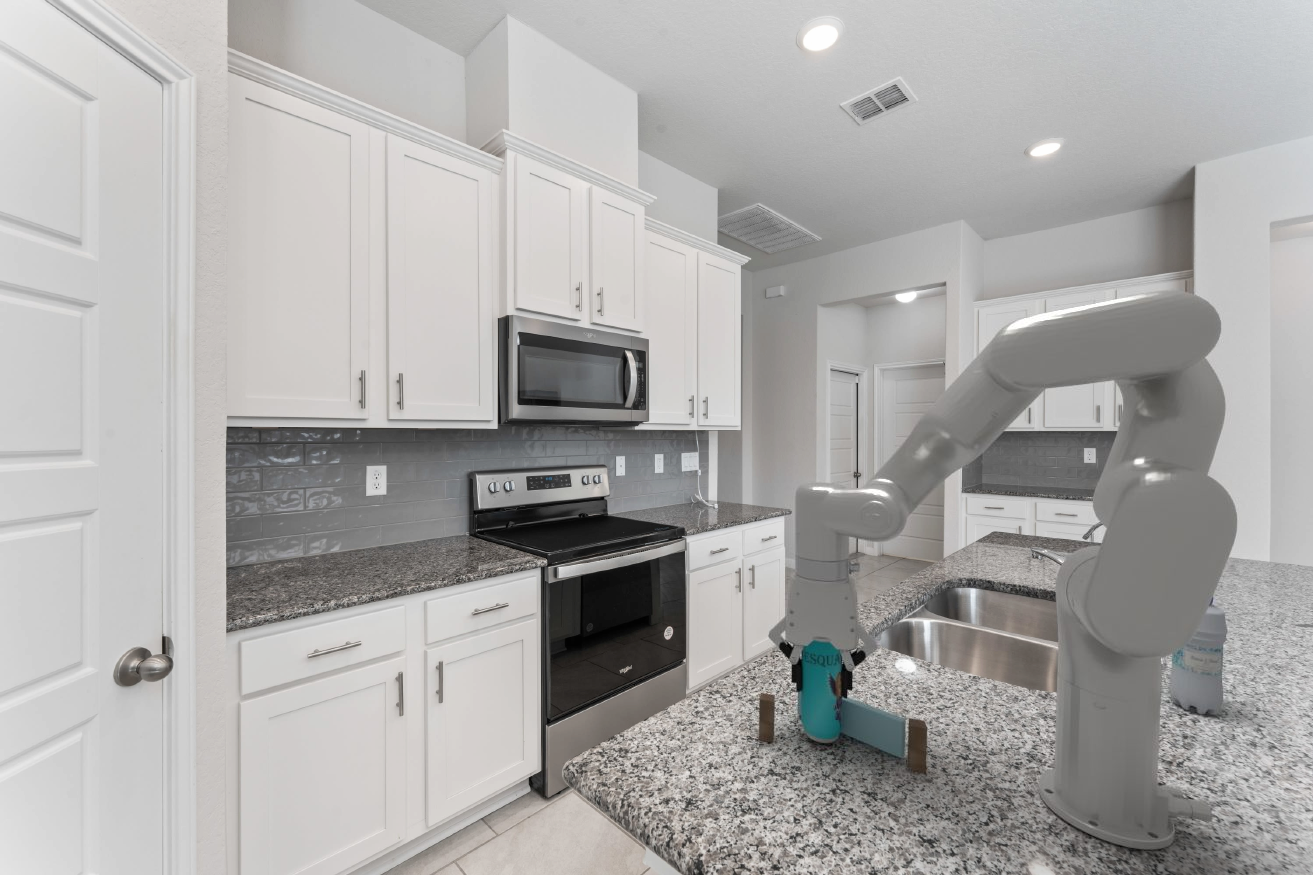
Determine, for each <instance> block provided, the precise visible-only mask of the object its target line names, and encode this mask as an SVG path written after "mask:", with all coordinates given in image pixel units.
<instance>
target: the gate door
mask: <svg viewBox="0 0 1313 875" xmlns="http://www.w3.org/2000/svg"><path fill="white" fill-rule="evenodd" d="M796 708H797V709H796V710H797V712H796V713H797V715H799V716H801V691H800V692H797V707H796ZM906 722H907V721H906V718H904V717H902V716H899V715H896V714H893V713H891V712H889V711H886V710H883V709H880V708H879V707H878V708H877V707H875V706H872V705H869V704H867V703H863V702H862V701H859V700H856V699H854V698H851V697H848V696H847V698H844V697H842V729H841V732H840V734H844V735H846V736H848V737H851V738H852V739H855V740H858V741H859V742H862V743H865V744H866V745H869V746H872V747H874V748H876V749H879V750H881V751H883V752H885V753H888V754H890V755H893V756H895V757H897V758H900V759H903V758H904V756H906V729H907V728H906V727H907V726H906Z"/></svg>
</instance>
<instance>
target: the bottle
mask: <svg viewBox="0 0 1313 875" xmlns="http://www.w3.org/2000/svg"><path fill="white" fill-rule="evenodd" d="M1213 604H1214V596H1213V597H1212V600H1211V602H1210V605H1209V607H1208V609H1207V612H1206V614H1205V616H1204V619H1203V621H1202V623H1201V625H1200V627H1199V629H1198V631H1197V632H1196V634H1195V635H1194V637H1193V638H1192V639H1191V640H1190V642H1189V643H1188V644H1187V645H1186V646H1184V647H1183V648H1182V649H1180V650H1179V651H1177V652H1175V653H1173V654H1171V669H1170V670H1171V671H1170V676H1169V684H1168V685H1169V688H1168V690H1169V695H1170V698H1171V699H1170V700H1171V701H1172V702H1173V703H1174V704H1175V705H1177V706H1181V708H1182V709H1184V710H1185V711H1189V710H1190V709H1191V706H1193V707H1195V708H1196V711H1197V714H1199V715H1205V714H1206V713H1208V714H1209V715H1210V716H1213V715H1214V716H1215V715H1217V714H1219V712H1220V711H1221V709H1222V706H1223V702H1224V688H1223V687H1224V686H1223V685H1224V684H1223V669H1224V668H1223V667H1224V666H1223V663H1224V645H1225V642H1227V640H1228V638H1227V635H1228V632H1229V631H1228V627H1227V621H1226V613H1225V611H1224V610H1223V609H1221V608H1219V607H1217V606H1215V605H1213Z"/></svg>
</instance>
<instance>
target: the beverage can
mask: <svg viewBox="0 0 1313 875" xmlns="http://www.w3.org/2000/svg"><path fill="white" fill-rule="evenodd" d="M812 639H814V640H813V641H812V642H811V643H810V644H809V645H808V646H805V647H803V650H802V652H801V655H800V657H801V715H800V717H801V720H800V722H801V724H802V727H803V730H804V733H805V734H806V736H807V737H808V738H809V739H811V740H812V741H814V742H816V743H821V744H830V743H833V742H835V741H837V740H838V738H839V737H840V734H841V729H842V664H843V658H842V655H841V653H840V651H839V650H837V649H836V648H835V647H834V646H833V645H832V644H831V643H830V641H831V639H821V638H815V637H813V638H812Z"/></svg>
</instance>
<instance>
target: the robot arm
mask: <svg viewBox="0 0 1313 875" xmlns="http://www.w3.org/2000/svg"><path fill="white" fill-rule="evenodd" d="M1221 334H1222V321H1221V318H1220V314H1219V313H1218V310H1216V308H1215V307H1214V306H1213V305H1212V304H1211V303H1210V302H1209V301H1207V299H1204V298H1202V297H1201V296H1199V295H1196V294H1194V293H1190V292H1188V291H1181V290H1157V291H1151V292H1150V291H1149V292H1146V293H1140V294H1136V295H1131V296H1129V295H1128V296H1124V297H1120V298H1116V299H1115V298H1114V299H1111V300H1110V299H1109V300H1106V301H1101V302H1095V303H1091V304H1085V305H1081V306H1075V307H1070V308H1063V309H1060V310H1053V311H1048V312H1042V313H1038V314H1032V315H1027V316H1023V317H1021V318H1018V319H1015V320H1013V321H1011V322H1009V323H1008V324H1006V325H1004V326H1003V327H1001V329H999V330H998V332H997V333H996V334H995V335H994V337H993V338H992V340H990V341H989V343H988V344H986V346H985V347H984V348H983V349H982V350H981V351H980V353H978V354H977V356H976V357H975V358H974V359H973V360H972V361H971V362H970V363H969V364H968V366H967V367H966V368H965V369H964V370H963V371H962V372H961V374H959V376H958V377H957V378H956V379H954V381H953V382H952V383H951V384H950V385H949V387H948V388H946V389H945V391H944V392H943V393H942V394H941V395H940V396H939V397H938V398H937V399H936V400H935V402H933V404H931V406H930V407H929V408H928V409H927V410H926V411H925V412H924V413H923V415H922V416H921V417H920V419H919V420H918V421H917V422H916V424H915V426H914V427H913V429H912V431H911V432H910V433H909V435H908V437H907V438H906V439H905V440H904V442H903V443H902V444H901V445H900V447H899V448H898V449H896V451H894V453H893V454H892V455H891V457H889V459H888V460H887V461H886V462H885V463H884V464H883V465H882V466H881V467H880V468H879V470H878V471H876V472H875V474H873V476H872V477H871V478H870V479H869V480H868V481H867V482H866V483H865V484H864V485H863V486H861V487H856V488H855V487H854V488H853V487H852V488H851V487H850V488H847V487H845V486H844V485H842V484H839V483H834V482H806V483H805V482H804V483H802V484H800V485H798V487H797V489H796V490H795V497H794V498H795V499H794V500H795V501H794V502H795V511H794V512H795V513H794V515H795V516H794V517H795V519H794V520H795V521H794V522H795V523H794V524H795V527H794V531H795V532H794V536H795V537H794V539H795V540H794V541H795V543H794V545H795V546H794V547H795V553H794V555H795V556H794V557H795V558H794V562H795V563H794V564H795V566H794V568H795V569H794V572H791V573H790V575H789V580H788V584H787V585H788V586H787V593H786V594H787V595H786V596H787V597H786V608H785V614H786V615H785V616H784V617H783V618H782V619H781V620H779V622H778V623H776V624H775V626H773V628H771V629H770V630H769V631H768V639H769V640H771V641H772V643H773V644H774V645H775V646H776V647H778V649H779V650H780V652H782V654H783V655H784V656H785V657H786V658H787V659H788V661H789V663H790V665H791V683H792V684H795V692H796V693H798V692H800V691H801V652H802V650H803V647H805V646H808V645H809V644H810V643H811V642H812V641H813V640H814V639H812V638H813V637H815V638H821V639H831V641H830V643H831V644H832V645H833V646H834V647H835V648H836V649H837V650H839V651H840V653H841V655H842V697H844V698H847V697H848V693H849V692H848V691H853V671H855V669H856V667H857V666H859V665H860V664H861V663H863V662H864V661H865V660H866V659H867V657H869V656H871V655H872V654H873V653H875V652H876V651H878V648H879V646H878V642H877V641H876V640H875V639H874V638H873V636H872V635H871V634H870V633H869V632H868V631H867V630H866V629H865V628H864V627H863V626H862V624H861V623H860V622H859V620H860V619H859V606H858V604H859V603H858V594H857V593H858V592H857V587H856V582H855V578H854V577H853V576H850V575H852V573H853V574H854V573H855V572H856V573H860V572H861V567H860V566H861V565H860V564H861V563H860V562H858V561H857V562H855V560H854V561H853V560H852V558H851V559H850V538H854V539H858V540H863V541H867V542H870V543H871V542H872V543H885V542H888V541H889V542H890V541H892V540H894V539H895V538H897V537H898V536H900V534H902V532H903V531H904V529H905V527H906V524H907V522H908V518H909V516H911V514H912V513H914V511H915V510H916V509H917V508H918V507H919V506H920V505H921V504H922V503H923V502H924V500H926V499H927V497H929V495H931V494H932V492H933V491H935V490H936V489H937V488H938V487H939V486H940V485H941V484H942V483H943V482H944V481H945V480H947V479H948V478H949V477H950V476H951V475H953V474H954V473H955V472H957V471H958V470H960V469H962V468H964V467H966V466H968V465H970V464H971V463H972V462H973V461H974V460H977V459H978V457H979V456H981V455H982V454H983V453H985V452H986V450H987V449H988V448H990V447H991V445H992V444H993V443H994V442H995V441H996V440H997V439H998V438H999V437H1000V436H1001V435H1002V434H1003V433H1004V432H1005V431H1006V430H1007V429H1008V428H1009V426H1010V425H1011V424H1013V423H1014V422H1015V421H1016V420H1017V418H1018V417H1020V416H1021V415H1022V413H1024V411H1026V409H1027V408H1029V406H1031V404H1032V403H1033V402H1034V401H1036V400H1037V398H1039V396H1040V395H1041V394H1043V392H1044V391H1046V390H1047V389H1056V388H1063V387H1072V386H1082V385H1089V384H1098V383H1103V382H1104V383H1105V382H1111V381H1114V383H1116V385H1117V387H1118V388H1119V391H1120V394H1121V397H1122V413H1121V417H1120V422H1119V425H1118V429H1117V432H1116V436H1115V438H1114V442H1113V444H1112V447H1111V449H1110V451H1109V454H1108V457H1107V460H1106V463H1105V465H1104V468H1103V471H1102V473H1101V475H1100V478H1099V480H1098V482H1097V484H1096V487H1095V489H1094V492H1093V496H1092V508H1093V511H1094V514H1095V516H1096V518H1097V520H1098V521H1099V522H1100V523H1101V524H1102V526H1104V527H1105V528H1106V530H1105V533H1104V535H1103V538H1102V540H1101V543H1100V545H1090V546H1086V547H1081V548H1079V549H1078V550H1076V551H1074V552H1073V553H1071V554H1070V555H1069V556H1067V557H1066V558H1065V560H1064V561H1063V562H1062V563H1061V565H1060V567H1059V569H1058V572H1057V576H1056V580H1055V602H1056V616H1057V637H1058V639H1057V640H1058V641H1057V671H1056V672H1057V676H1056V702H1055V703H1056V705H1055V706H1056V707H1055V710H1056V711H1055V712H1056V713H1055V736H1054V738H1055V740H1054V768H1052V769H1049V770H1047V771H1045V772H1043V773H1041V775H1040V777H1039V778H1038V786H1037V787H1038V793H1039V796H1040V798H1041V799H1042V801H1043V802H1044V803H1045V804H1046V806H1047V807H1048V808H1050V810H1052V812H1053V813H1054V814H1056V815H1057V816H1059V817H1060V818H1061V819H1062V820H1064V821H1065V822H1067V823H1068V824H1070V825H1072V826H1073V827H1075V828H1076V829H1079V830H1080V831H1082V832H1085V833H1086V834H1088V835H1089V836H1090V835H1091V836H1093V837H1095V838H1097V839H1100V840H1102V841H1106V842H1108V843H1111V844H1114V845H1119V846H1121V847H1126V848H1132V849H1137V850H1150V851H1152V850H1160V849H1164V848H1167V847H1169V846H1171V845H1172V843H1173V842H1174V841H1175V836H1176V831H1175V830H1176V829H1175V824H1174V822H1173V820H1172V819H1177V818H1178V817H1180V816H1181V817H1186V818H1189V819H1193V820H1198V821H1203V822H1204V821H1205V822H1212V820H1213V812H1212V809H1211V807H1210V805H1209V804H1208V803H1207V802H1206V801H1202V800H1197V799H1192V798H1191V799H1190V798H1185V797H1184V793H1183V791H1182V789H1180V788H1179V787H1173V786H1167V785H1165V786H1163V785H1159V782H1158V781H1159V780H1158V779H1159V758H1160V757H1159V754H1160V732H1161V731H1160V727H1161V706H1162V705H1161V703H1162V702H1161V701H1162V699H1161V698H1162V684H1163V683H1162V681H1163V680H1162V679H1163V675H1162V674H1163V673H1162V671H1163V670H1162V669H1163V668H1162V658H1165V657H1169V656H1170V655H1171V656H1172V654H1173V653H1175V652H1177V651H1179V650H1180V649H1182V648H1183V647H1184V646H1186V645H1187V644H1188V643H1189V642H1190V640H1191V639H1192V638H1193V637H1194V635H1195V634H1196V632H1197V631H1198V629H1199V627H1200V625H1201V623H1202V621H1203V619H1204V616H1205V614H1206V612H1207V609H1208V607H1209V605H1210V602H1211V600H1212V597H1213V598H1214V595H1215V592H1216V589H1217V588H1218V585H1219V582H1220V580H1221V578H1222V574H1223V573H1224V570H1225V568H1226V565H1227V562H1228V560H1229V558H1230V555H1231V553H1232V549H1233V546H1234V543H1235V540H1236V536H1237V532H1238V513H1237V509H1236V505H1235V503H1234V500H1233V498H1232V496H1231V495H1230V494H1229V492H1228V491H1227V490H1226V488H1225V487H1224V486H1223V485H1222V484H1221V483H1220V482H1218V480H1216V479H1215V478H1213V477H1211V476H1210V475H1209V472H1210V468H1211V466H1212V462H1213V460H1214V457H1215V453H1216V449H1217V446H1218V444H1219V443H1218V442H1219V440H1220V438H1221V435H1222V430H1223V427H1224V423H1225V417H1226V411H1227V410H1226V409H1227V408H1226V397H1225V391H1224V388H1223V385H1222V383H1221V381H1220V378H1219V376H1218V374H1217V373H1216V372H1215V370H1214V368H1213V367H1212V365H1211V364H1210V362H1209V361H1208V359H1207V358H1206V357H1207V356H1209V355H1210V354H1211V352H1212V351H1213V350H1214V349H1215V348H1216V345H1217V343H1218V342H1219V340H1220V337H1221ZM784 632H785V638H786V639H785V638H784V637H783V636H782V634H783V633H784ZM859 639H860V640H861V641H862V643H863V644H862V646H860V647H859V642H860V641H859Z"/></svg>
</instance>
